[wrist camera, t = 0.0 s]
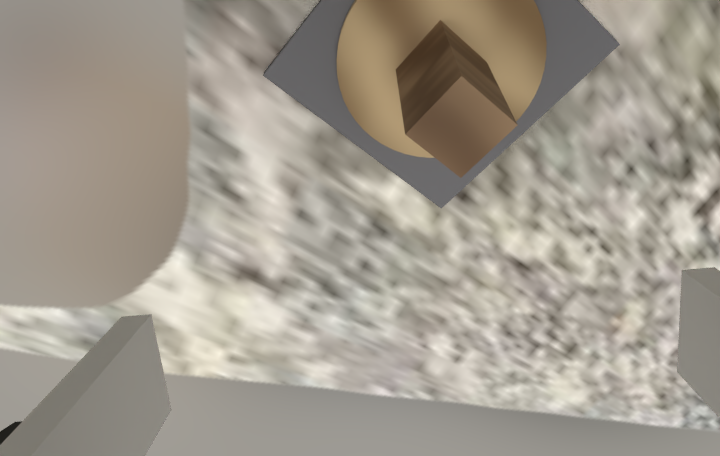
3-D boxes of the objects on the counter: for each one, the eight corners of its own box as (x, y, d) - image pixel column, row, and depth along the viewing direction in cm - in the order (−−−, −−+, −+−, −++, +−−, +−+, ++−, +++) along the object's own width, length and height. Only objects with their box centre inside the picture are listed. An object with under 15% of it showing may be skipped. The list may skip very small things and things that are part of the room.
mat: (435, -148, 33) (436, -147, 33) (617, 41, 39) (619, 44, 39) (264, 72, 40) (263, 75, 40) (440, 204, 46) (441, 208, 46)
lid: (436, -102, 34) (462, -70, 26) (585, 47, 39) (646, 114, 31) (295, 72, 40) (280, 144, 32) (440, 183, 45) (460, 271, 36)
